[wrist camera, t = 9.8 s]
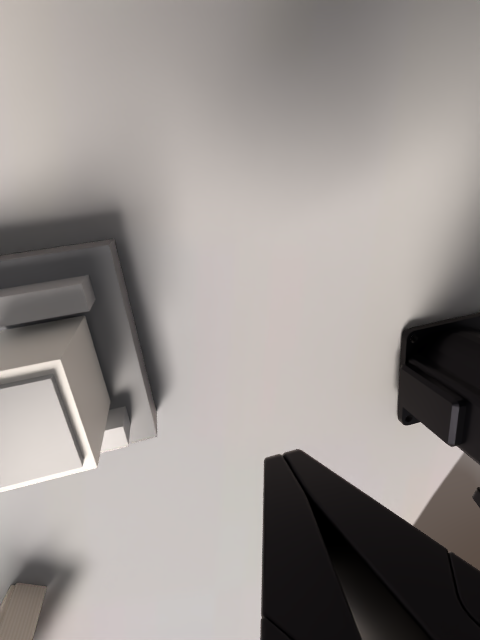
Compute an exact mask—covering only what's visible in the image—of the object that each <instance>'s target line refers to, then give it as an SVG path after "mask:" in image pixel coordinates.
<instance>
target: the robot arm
mask: <svg viewBox="0 0 480 640" xmlns="http://www.w3.org/2000/svg"><path fill="white" fill-rule="evenodd" d="M412 335H413V338H412V339H411V337H412ZM410 339H411V340H410ZM398 420H399V421H400V422H401V423H402V424H404V425H411V424H415V423H418V422H421V423H423V424H424V425H425V426H426V427H427V428H428V429H430V430H431V431H432V432H433V433H434V434H436V435H437V436H438V437H439V438H440V439H442V440H443V441H444V442H445V443H446V444H448V445H449V446H451V447H454V446H457V447H459V448H460V449H461V450H462V451H463V452H465V453H466V454H467V455H468V456H470V457H471V458H472V459H473V460H474V461H476V462H477V463H478V464H479V465H480V313H476V314H472V315H467V316H463V317H458V318H453V319H449V320H444V321H440V322H435V323H431V324H426V325H422V326H417V327H413V328H409V329H407V330H406V331H405V332H404V333H403V335H402V345H401V364H400V380H399V400H398ZM472 497H473V499H474V501H475V502H476V503H477V505H478V506H479V507H480V487H478V488H477V489H476V491H475V493H474V494H473V496H472ZM261 616H262V619H261V636H260V640H480V571H479V570H478V569H476V568H475V567H473V566H472V565H470V564H469V563H467V562H466V561H464V560H463V559H461V558H460V557H458V556H456V555H455V554H454V553H452V552H449V553H448V551H447V549H446V548H444V547H443V546H442V545H440V544H439V543H437V542H436V541H434V540H433V539H431V538H430V537H429V536H427V535H426V534H424V533H423V532H421V531H420V530H418V529H417V528H415V527H414V526H412V525H411V524H409V523H408V522H406V521H405V520H404V519H402V518H401V517H399V516H398V515H396V514H395V513H393V512H392V511H390V510H389V509H387V508H386V507H384V506H383V505H381V504H380V503H378V502H377V501H376V500H374V499H373V498H371V497H370V496H368V495H367V494H365V493H364V492H362V491H361V490H359V489H358V488H356V487H355V486H353V485H352V484H350V483H349V482H348V481H346V480H345V479H343V478H342V477H340V476H339V475H337V474H336V473H334V472H333V471H331V470H330V469H328V468H327V467H325V466H324V465H323V464H321V463H320V462H318V461H317V460H315V459H314V458H312V457H311V456H309V455H308V454H306V453H305V452H303V451H302V450H299V449H296V450H293V451H289V452H285V453H284V454H283V455H280V454H278V455H274V456H270V457H267V458H265V460H264V492H263V545H262V597H261Z"/></svg>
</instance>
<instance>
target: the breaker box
mask: <svg viewBox="0 0 480 640" xmlns="http://www.w3.org/2000/svg"><path fill="white" fill-rule="evenodd" d="M84 315H85V317H86V321H87V324H88V327H89V331H90V334H91V338H92V341H93V344H94V348H95V351H96V354H97V358H98V361H99V364H100V368H101V371H102V375H103V378H104V381H105V385H106V388H107V391H108V395H109V398H110V401H111V402H110V407H109V412H108V417H107V422H106V427H105V432H104V437H103V442H102V447H101V452H100V453H103V452H107V451H111V450H115V449H119V448H123V447H127V446H129V444H130V443H134V442H138V441H142V440H146V439H150V438H154V437H157V412H156V407H155V403H154V399H153V395H152V391H151V387H150V383H149V379H148V375H147V371H146V367H145V363H144V358H143V354H142V350H141V346H140V342H139V338H138V334H137V330H136V326H135V322H134V318H133V314H132V309H131V305H130V301H129V297H128V293H127V289H126V285H125V281H124V277H123V273H122V269H121V265H120V260H119V256H118V252H117V248H116V244H115V240H114V239H109V240H102V241H95V242H89V243H82V244H75V245H68V246H61V247H54V248H48V249H41V250H34V251H27V252H20V253H13V254H7V255H0V331H2V330H7V329H13V328H18V327H24V326H29V325H35V324H40V323H46V322H51V321H57V320H62V319H68V318H73V317H79V316H84Z"/></svg>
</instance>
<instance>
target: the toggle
mask: <svg viewBox="0 0 480 640" xmlns="http://www.w3.org/2000/svg"><path fill="white" fill-rule="evenodd" d="M110 402H111V401H110V398H109V395H108V391H107V388H106V385H105V381H104V378H103V375H102V371H101V368H100V364H99V361H98V358H97V354H96V351H95V348H94V344H93V341H92V338H91V334H90V331H89V327H88V324H87V321H86V317H85V315H84V316H79V317H73V318H68V319H62V320H57V321H51V322H46V323H40V324H35V325H29V326H24V327H18V328H13V329H7V330H2V331H0V492H4V491H8V490H12V489H15V488H19V487H23V486H27V485H31V484H35V483H39V482H43V481H47V480H51V479H55V478H59V477H62V476H66V475H70V474H74V473H78V472H82V471H86V470H90V469H94V468H97V466H98V461H99V456H100V452H101V447H102V442H103V437H104V432H105V427H106V422H107V417H108V412H109V407H110Z"/></svg>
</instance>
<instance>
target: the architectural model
mask: <svg viewBox="0 0 480 640" xmlns="http://www.w3.org/2000/svg"><path fill="white" fill-rule="evenodd" d="M46 588H47V586H39V585H31V584H23V583H16V585H11V586H10V588H9V590H8V592H7V594H6V596H5V598H4V600H3V602H2V604H1V606H0V640H33V637H34V633H35V629H36V625H37V622H38V618H39V614H40V611H41V607H42V603H43V600H44V596H45V592H46ZM10 598H11V599H10Z"/></svg>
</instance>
